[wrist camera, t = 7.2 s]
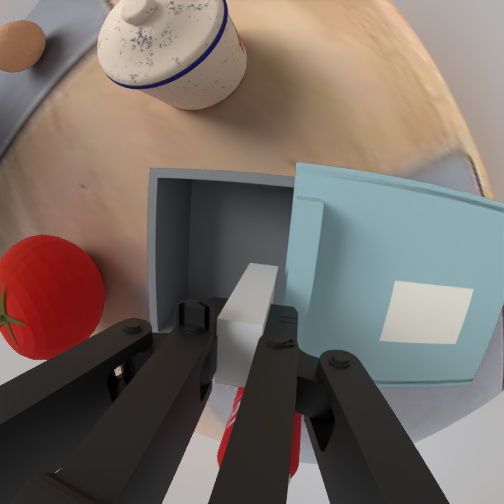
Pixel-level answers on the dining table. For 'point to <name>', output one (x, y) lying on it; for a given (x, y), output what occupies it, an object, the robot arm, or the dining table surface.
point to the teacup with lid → (173, 50)
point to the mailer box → (212, 234)
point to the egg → (20, 45)
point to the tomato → (48, 296)
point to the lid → (394, 274)
